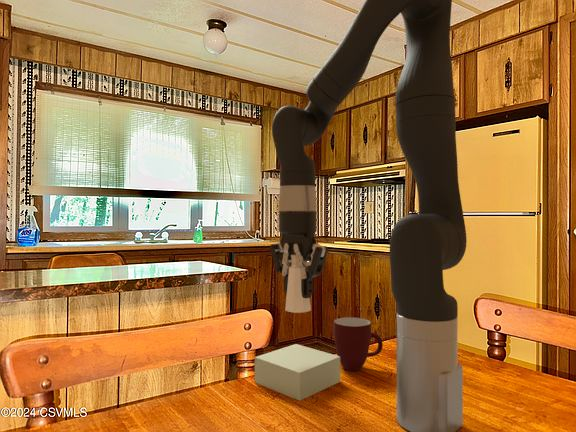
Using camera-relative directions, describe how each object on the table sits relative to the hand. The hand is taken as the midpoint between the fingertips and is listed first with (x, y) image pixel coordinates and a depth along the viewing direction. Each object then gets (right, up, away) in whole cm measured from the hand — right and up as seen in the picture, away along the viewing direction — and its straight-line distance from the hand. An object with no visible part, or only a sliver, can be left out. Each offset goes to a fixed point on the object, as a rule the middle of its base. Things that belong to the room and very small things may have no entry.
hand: (297, 295), depth 84 cm
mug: (+13, -17, +8) cm, 23 cm away
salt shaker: (0, -3, 0) cm, 3 cm away
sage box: (0, -17, 0) cm, 17 cm away
